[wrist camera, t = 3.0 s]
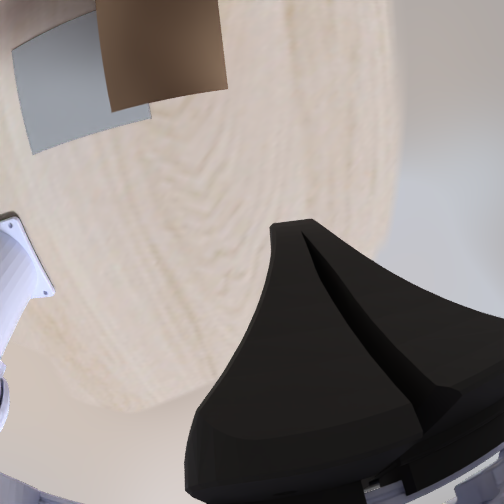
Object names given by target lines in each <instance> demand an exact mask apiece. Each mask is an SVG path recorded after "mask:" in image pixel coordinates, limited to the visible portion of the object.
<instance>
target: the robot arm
mask: <svg viewBox="0 0 504 504" xmlns="http://www.w3.org/2000/svg"><path fill="white" fill-rule="evenodd" d="M11 224H12V225H11ZM270 241H271V258H270V264H269V269H268V273H267V277H266V281H265V285H264V288H263V291H262V294H261V297H260V300H259V303H258V305H257V308H256V311H255V313H254V315H253V317H252V320H251V322H250V324H249V326H248V329H247V331H246V333H245V335H244V337H243V339H242V341H241V343H240V344H239V346H238V348H237V350H236V351H235V353H234V355H233V357H232V358H231V360H230V362H229V363H228V365H227V367H226V369H225V370H224V372H223V373H222V375H221V376H220V378H219V379H218V381H217V382H216V384H215V385H214V386H213V388H212V389H211V391H210V392H209V393H208V395H207V396H206V397H205V399H204V400H203V402H202V403H201V404H200V406H199V407H198V408H197V410H196V413H195V416H194V419H193V423H192V426H191V430H190V433H189V437H188V441H187V446H186V453H185V461H184V468H185V491H186V492H187V493H188V494H190V495H191V496H192V497H193V498H196V499H198V500H201V501H203V502H205V503H206V504H405V503H408V502H410V501H412V500H415V499H417V498H419V497H421V496H423V495H426V494H428V493H430V492H432V491H434V490H436V489H438V488H440V487H442V486H444V485H446V484H447V483H449V482H451V481H453V480H455V479H456V478H458V477H460V476H462V475H463V474H465V473H467V472H468V471H470V470H472V469H473V468H475V467H477V466H478V465H480V464H481V463H483V462H484V461H486V460H487V459H489V458H490V457H492V456H493V455H494V454H496V453H497V452H499V451H500V453H499V458H498V460H497V461H495V462H494V463H492V464H490V465H489V466H487V467H485V468H484V469H482V470H480V471H478V472H477V473H475V474H473V475H472V476H470V477H468V478H467V479H465V480H464V481H462V482H461V483H460V484H458V485H456V486H455V488H454V490H455V493H456V497H455V498H453V499H451V500H449V501H447V502H445V503H443V504H504V319H503V318H499V317H496V316H492V315H488V314H485V313H482V312H479V311H476V310H473V309H471V308H467V307H465V306H462V305H459V304H457V303H454V302H452V301H449V300H447V299H444V298H442V297H440V296H438V295H435V294H433V293H431V292H429V291H426V290H424V289H422V288H420V287H418V286H416V285H414V284H412V283H410V282H408V281H406V280H405V279H403V278H401V277H399V276H397V275H395V274H393V273H392V272H390V271H388V270H387V269H385V268H383V267H382V266H380V265H378V264H377V263H375V262H374V261H372V260H371V259H369V258H367V257H366V256H364V255H363V254H361V253H360V252H358V251H357V250H355V249H354V248H353V247H351V246H350V245H348V244H347V243H345V242H344V241H343V240H341V239H340V238H338V237H337V236H336V235H334V234H333V233H332V232H330V231H329V230H328V229H326V228H325V227H323V226H322V225H321V224H319V223H318V222H316V221H315V220H313V219H305V220H297V221H289V222H281V223H273V224H272V225H271V226H270ZM54 294H55V289H54V288H53V286H52V284H51V282H50V281H49V279H48V277H47V275H46V273H45V271H44V269H43V268H42V266H41V264H40V262H39V260H38V258H37V256H36V254H35V252H34V250H33V248H32V246H31V244H30V241H29V239H28V237H27V235H26V233H25V231H24V228H23V226H22V224H21V221H20V220H19V218H18V217H16V216H14V217H11V218H8V219H5V220H2V221H0V432H1V430H2V428H3V426H4V424H5V421H6V419H7V416H8V412H9V406H10V396H9V387H8V383H7V381H6V380H5V379H4V377H3V374H4V371H5V369H6V365H5V364H4V363H3V362H2V361H1V358H2V356H3V353H4V351H5V348H6V346H7V344H8V342H9V340H10V338H11V336H12V333H13V331H14V329H15V327H16V325H17V323H18V321H19V319H20V317H21V315H22V313H23V311H24V309H25V307H26V305H27V303H28V302H29V300H30V299H32V298H41V297H50V296H53V295H54ZM377 488H378V489H377ZM374 489H375V490H374ZM371 490H372V491H371ZM368 491H369V492H368ZM365 492H366V493H365ZM0 504H83V503H79V502H75V501H71V500H68V499H64V498H61V497H58V496H54V495H51V494H48V493H45V492H42V491H39V490H38V489H37V488H35V487H32V486H30V485H28V484H26V483H24V482H21V481H19V480H17V479H14V478H12V477H10V476H8V475H5V474H3V473H0Z"/></svg>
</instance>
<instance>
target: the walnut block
mask: <svg viewBox="0 0 504 504" xmlns="http://www.w3.org/2000/svg"><path fill="white" fill-rule="evenodd" d="M95 3H96V14H97V24H98V33H99V41H100V48H101V55H102V62H103V68H104V74H105V80H106V86H107V91H108V97H109V102H110V107H111V112H112V113H113V112H116V111H120V110H124V109H127V108H131V107H135V106H139V105H143V104H147V103H152V102H156V101H161V100H165V99H170V98H175V97H180V96H186V95H191V94H197V93H204V92H210V91H217V90H224V89H228V84H227V76H226V68H225V59H224V51H223V42H222V34H221V25H220V17H219V8H218V0H95Z"/></svg>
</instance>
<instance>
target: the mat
mask: <svg viewBox="0 0 504 504" xmlns="http://www.w3.org/2000/svg"><path fill="white" fill-rule="evenodd" d="M12 57H13V65H14V72H15V79H16V85H17V91H18V96H19V101H20V106H21V111H22V115H23V120H24V124H25V128H26V132H27V136H28V140H29V143H30V147H31V151H32V154H33V155H34V154H36V153H39V152H41V151H44V150H47V149H49V148H52V147H55V146H57V145H60V144H63V143H66V142H69V141H72V140H75V139H78V138H81V137H84V136H87V135H90V134H94V133H97V132H100V131H104V130H107V129H111V128H114V127H118V126H122V125H126V124H130V123H134V122H138V121H142V120H146V119H151V113H150V107H149V103H147V104H143V105H139V106H135V107H131V108H127V109H124V110H120V111H116V112H113V113H112V112H111V107H110V102H109V97H108V91H107V86H106V80H105V74H104V68H103V62H102V55H101V48H100V41H99V33H98V24H97V14H96V10H95V11H93V12H90V13H88V14H85V15H83V16H80V17H78V18H75V19H73V20H71V21H68V22H66V23H64V24H62V25H59V26H57V27H55V28H53V29H51V30H49V31H47V32H45V33H43V34H41V35H39V36H37V37H35V38H34V39H32V40H30V41H28V42H26V43H25V44H23V45H21V46H19V47H18V48H16V49H14V50H13V51H12Z"/></svg>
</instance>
